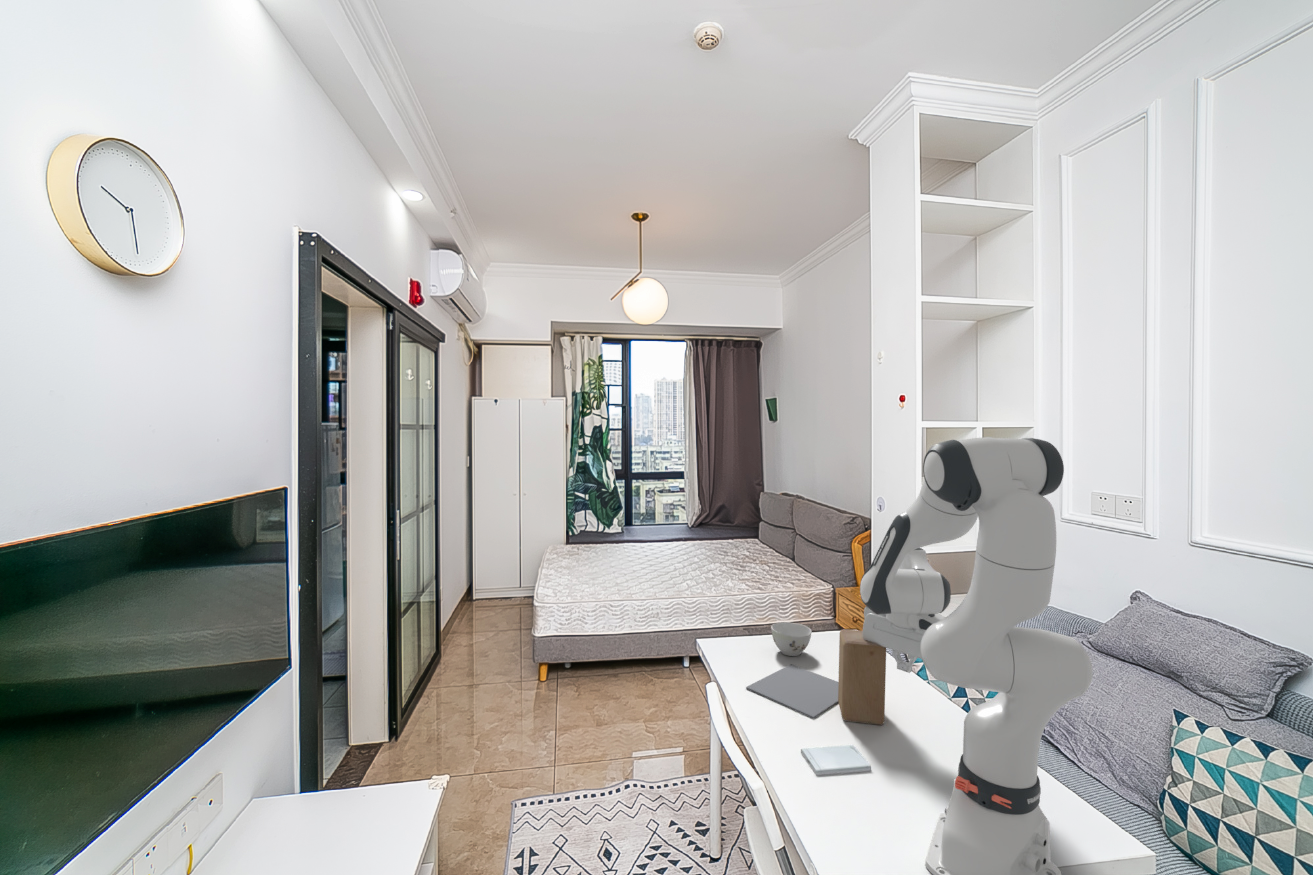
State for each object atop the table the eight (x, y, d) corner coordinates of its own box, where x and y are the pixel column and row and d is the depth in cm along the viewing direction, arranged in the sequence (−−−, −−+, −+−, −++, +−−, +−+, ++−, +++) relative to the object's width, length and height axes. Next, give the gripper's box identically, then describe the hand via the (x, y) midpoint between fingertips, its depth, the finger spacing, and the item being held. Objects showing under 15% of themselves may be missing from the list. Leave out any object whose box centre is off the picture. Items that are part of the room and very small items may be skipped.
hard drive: (852, 743, 128) (800, 747, 126) (871, 765, 120) (816, 769, 118) (852, 750, 128) (800, 754, 126) (871, 773, 120) (815, 777, 118)
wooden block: (885, 726, 137) (887, 645, 136) (842, 722, 139) (844, 642, 138) (877, 706, 147) (879, 630, 146) (837, 702, 149) (839, 627, 148)
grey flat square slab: (813, 718, 140) (813, 716, 140) (746, 688, 156) (746, 686, 156) (856, 690, 155) (856, 688, 155) (791, 665, 171) (791, 664, 171)
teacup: (816, 661, 174) (816, 635, 174) (776, 661, 174) (776, 635, 174) (802, 641, 189) (802, 618, 189) (765, 641, 189) (765, 618, 189)
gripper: (858, 605, 140) (856, 659, 140) (945, 628, 125) (943, 689, 125) (870, 599, 144) (868, 652, 145) (956, 621, 129) (954, 680, 130)
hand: (904, 670), depth 135 cm, fingers closed
